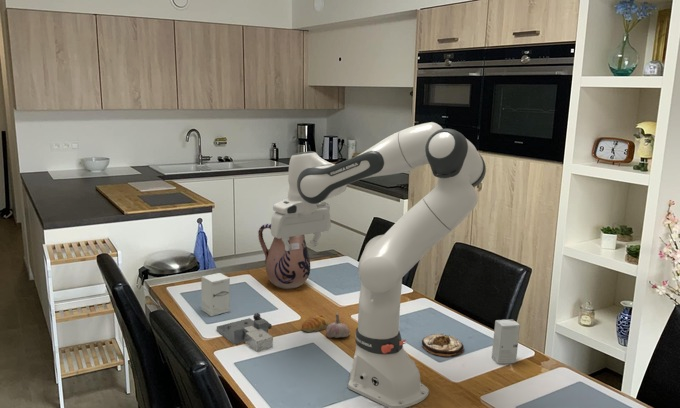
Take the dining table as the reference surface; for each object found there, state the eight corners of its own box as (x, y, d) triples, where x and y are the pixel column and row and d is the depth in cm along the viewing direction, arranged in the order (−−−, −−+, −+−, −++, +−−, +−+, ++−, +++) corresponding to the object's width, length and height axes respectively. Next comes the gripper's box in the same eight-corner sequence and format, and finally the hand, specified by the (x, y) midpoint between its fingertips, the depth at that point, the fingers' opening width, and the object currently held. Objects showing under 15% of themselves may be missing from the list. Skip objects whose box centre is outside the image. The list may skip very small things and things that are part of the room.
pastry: (310, 335, 175) (310, 324, 175) (296, 329, 180) (296, 318, 179) (330, 327, 182) (331, 316, 181) (316, 321, 187) (316, 311, 186)
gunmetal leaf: (268, 335, 174) (268, 321, 173) (234, 344, 167) (234, 331, 166) (249, 322, 184) (249, 309, 183) (216, 330, 176) (216, 317, 175)
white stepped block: (272, 347, 166) (272, 336, 166) (256, 352, 163) (257, 340, 162) (255, 334, 174) (255, 323, 174) (240, 339, 171) (240, 328, 170)
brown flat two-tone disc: (436, 364, 160) (437, 351, 160) (409, 343, 174) (410, 330, 173) (476, 355, 167) (477, 343, 166) (447, 335, 180) (448, 324, 179)
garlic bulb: (322, 338, 173) (323, 315, 172) (330, 329, 180) (331, 307, 179) (344, 343, 171) (345, 319, 169) (352, 334, 178) (353, 310, 176)
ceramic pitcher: (308, 294, 211) (309, 231, 206) (253, 292, 211) (254, 229, 206) (311, 279, 228) (312, 220, 223) (260, 277, 228) (261, 218, 223)
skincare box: (498, 364, 160) (502, 326, 158) (490, 357, 165) (494, 319, 162) (517, 363, 162) (521, 324, 159) (509, 356, 166) (513, 318, 164)
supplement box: (211, 317, 187) (211, 281, 184) (201, 310, 192) (200, 275, 190) (230, 311, 192) (230, 277, 189) (219, 305, 197) (219, 271, 194)
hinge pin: (272, 327, 180) (272, 320, 179) (266, 329, 179) (266, 322, 178) (259, 318, 187) (259, 312, 186) (253, 320, 185) (253, 313, 185)
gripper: (323, 199, 175) (322, 241, 178) (268, 205, 162) (267, 250, 165) (335, 202, 170) (334, 245, 173) (279, 209, 158) (279, 255, 160)
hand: (301, 248), depth 169 cm, fingers open, 8 cm apart
